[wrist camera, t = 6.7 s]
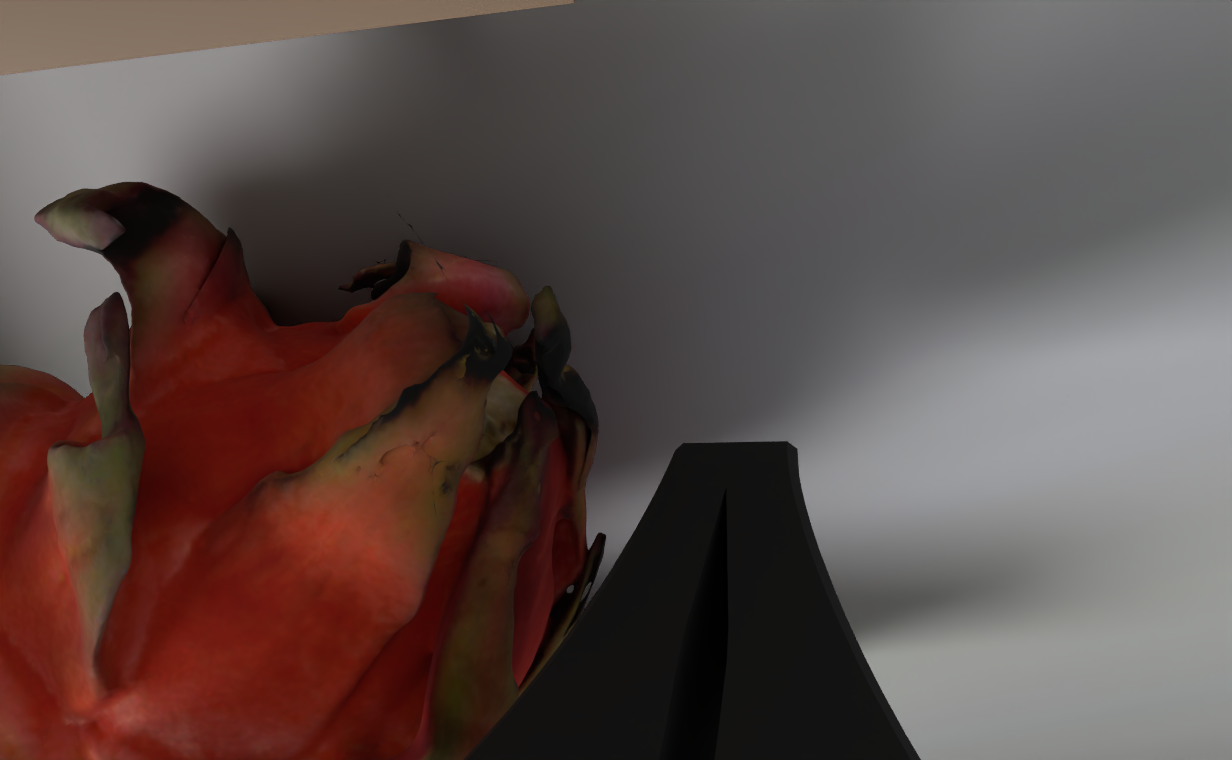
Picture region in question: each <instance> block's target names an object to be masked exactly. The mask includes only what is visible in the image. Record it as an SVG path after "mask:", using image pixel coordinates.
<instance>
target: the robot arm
mask: <svg viewBox="0 0 1232 760" xmlns="http://www.w3.org/2000/svg"><path fill="white" fill-rule="evenodd" d="M464 760H921V759H920V758H919V756H918V754H917V753H916V751H915V749H914V748H913V746H912V744H911V742H910V741H909V739H908V737H907V736H906V734H905V732H904V731H903V729H902V727H901V725H900V723H899V721H898V720H897V718H896V716H895V714H894V712H893V710H892V709H891V707H890V705H889V703H888V701H887V700H886V698H885V696H884V694H883V692H882V690H881V688H880V686H879V684H878V682H877V681H876V679H875V677H874V675H873V673H872V671H871V669H870V667H869V665H868V663H867V661H866V659H865V657H864V655H863V653H862V650H861V648H860V646H859V644H858V642H857V640H856V637H855V635H854V633H853V631H852V629H851V627H850V624H849V622H848V620H847V618H846V616H845V613H844V611H843V609H842V606H841V604H840V602H839V599H838V597H837V595H836V592H835V590H834V587H833V584H832V582H831V579H830V577H829V574H828V571H827V569H826V566H825V563H824V561H823V558H822V556H821V553H820V550H819V548H818V545H817V542H816V539H815V536H814V533H813V530H812V526H811V523H810V519H809V516H808V512H807V509H806V505H805V501H804V497H803V493H802V489H801V483H800V478H799V467H798V452H797V448H795V447H794V446H793V445H791V444H790V443H789V442H787V441H779V442H726V443H683V444H682V445H681V446H680V447H679V448H678V449H676V450H675V452H674V454H673V457H672V459H671V461H670V464H669V466H668V468H667V470H666V472H665V474H664V476H663V478H662V481H661V483H660V485H659V487H658V489H657V491H656V493H655V494H654V496H653V498H652V500H651V502H650V504H649V506H648V508H647V509H646V511H645V513H644V515H643V517H642V519H641V520H640V522H639V524H638V526H637V528H636V529H635V531H634V533H633V534H632V536H631V538H630V539H629V541H628V543H627V544H626V546H625V548H624V549H623V551H622V553H621V554H620V556H619V558H618V559H617V561H616V563H615V564H614V566H613V568H612V569H611V571H610V572H609V574H608V576H607V577H606V579H605V580H604V582H603V583H602V585H601V587H600V588H599V590H598V591H597V592H596V594H595V595H594V597H593V598H592V600H591V601H590V603H589V604H588V606H587V607H586V608H585V610H584V611H583V613H582V614H581V616H580V617H579V619H578V620H577V621H576V623H575V624H574V626H573V627H572V629H571V630H570V632H569V633H568V635H567V636H566V637H565V639H564V640H563V641H562V643H561V644H560V646H559V647H558V648H557V649H556V651H555V652H554V653H553V655H552V656H551V657H550V659H549V660H548V661H547V663H546V664H545V665H544V667H543V668H542V669H541V670H540V672H539V673H538V674H537V676H536V677H535V678H534V679H533V680H532V682H531V683H530V684H529V685H528V687H527V688H526V689H525V690H524V691H523V693H522V694H521V695H520V696H519V698H518V699H517V700H516V701H515V702H514V704H513V705H512V706H511V707H510V708H509V710H508V711H507V712H506V713H505V714H504V715H503V716H502V717H501V719H500V720H499V721H498V722H497V723H496V724H495V725H494V726H493V727H492V729H491V730H490V731H489V732H488V733H487V734H486V735H485V736H484V738H483V739H482V740H481V741H480V742H479V743H478V744H477V745H476V746H475V748H474V749H473V750H472V751H471V752H470V753H469V754H468V755H467V756H466V757H465V759H464Z"/></svg>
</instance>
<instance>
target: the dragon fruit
mask: <svg viewBox="0 0 1232 760" xmlns="http://www.w3.org/2000/svg"><path fill="white" fill-rule="evenodd" d="M398 214H399V213H398ZM399 216H400V215H399ZM400 217H401V216H400ZM401 218H402V217H401ZM34 219H35V221H36V222H37V223H38V224H40V225H41V226H42V227H44V228H45V229H46V230H47V231H48V232H49V233H50V234H51V235H52V236H53V237H54V238H55V239H56V240H57V241H60V242H64V243H66V244H69V245H71V246H74V247H79V248H83V249H87V250H90V251H94V252H97V253H99V254H101V255H102V256H103V257H104V258H105V259H106V260H108V261H109V262H110V263H111V264H112V265H113V267H114V269H115V270H116V271H117V273H118V274H119V275H120V278H121V282H122V285H123V287H124V289H125V291H126V293H127V295H128V298H129V301H130V304H131V307H132V311H131V317H132V326H131V328H130V329H129V325H128V318H127V313H126V309H125V306H124V302H123V299H122V297H121V295H120V293H118V292H114V293H113V294H112V295H111V296H110V297H109V298H107V299H105V301H104V302H103V303H102V304H101V305H100V306H99V307H97V308H95V309H94V310H93V311H92V312H91V313H90V316H89V318H88V321H87V323H86V326H85V329H84V342H85V352H86V356H87V360H88V369H89V380H90V385H91V388H92V393H91V394H90V395H88V396H87V397H86V398H84V397H82V396H81V395H80V394H79V393H78V392H77V391H76V390H74V389H73V388H72V387H71V386H69V385H68V384H66V383H65V382H63V381H61V380H59V379H58V378H56V377H54V376H52V375H50V374H48V373H45V372H41V371H37V370H33V369H30V368H25V367H20V366H14V365H0V760H464V759H465V757H466V756H467V755H468V754H469V753H470V752H471V751H472V750H473V749H474V748H475V746H476V745H477V744H478V743H479V742H480V741H481V740H482V739H483V738H484V736H485V735H486V734H487V733H488V732H489V731H490V730H491V729H492V727H493V726H494V725H495V724H496V723H497V722H498V721H499V720H500V719H501V717H502V716H503V715H504V714H505V713H506V712H507V711H508V710H509V708H510V707H511V706H512V705H513V704H514V702H515V701H516V700H517V699H518V698H519V696H520V695H521V694H522V693H523V691H524V690H525V689H526V688H527V687H528V685H529V684H530V683H531V682H532V680H533V679H534V678H535V677H536V676H537V674H538V673H539V672H540V670H541V669H542V668H543V667H544V665H545V664H546V663H547V661H548V660H549V659H550V657H551V656H552V655H553V653H554V652H555V651H556V649H557V648H558V647H559V646H560V644H561V643H562V641H563V640H564V638H565V637H566V636H567V634H568V633H569V632H570V630H571V629H572V627H573V626H574V624H575V623H576V621H577V620H578V618H579V616H580V615H581V613H582V611H583V608H584V605H585V603H586V600H587V598H588V595H589V593H590V590H591V588H592V586H593V583H594V580H595V577H596V575H597V572H598V569H599V566H600V563H601V561H602V558H603V553H604V546H605V541H606V535H605V534H603V533H598V534H597V536H596V538H595V540H594V542H593V544H592V546H591V548H590V550H588V548H587V541H586V499H585V486H586V479H587V476H588V473H589V470H590V468H591V466H592V463H593V459H594V455H595V451H596V445H597V437H598V426H599V425H598V418H597V413H596V409H595V406H594V403H593V401H592V399H591V396H590V392H589V390H588V388H587V387H586V386H585V384H584V382H583V381H582V379H581V378H580V376H579V374H578V373H577V372H576V371H575V370H574V369H573V368H572V367H570V366H568V365H566V363H567V361H568V358H569V355H570V351H571V338H570V330H569V327H568V324H567V321H566V319H565V317H564V316H563V314H562V312H561V310H560V308H559V306H558V303H557V301H556V298H555V295H554V293H553V291H552V289H551V287H550V286H545V287H544V288H543V289H542V291H541V292H540V293H538V294H536V295H535V297H534V300H533V303H532V306H531V312H532V315H533V318H534V328H533V329H532V330H531V333H530V336H529V338H528V339H527V341H526V342H525V343H524V344H522V345H520V346H516V347H514V349H512V345H511V343H510V341H507V340H506V336H507V334H508V333H509V332H510V331H512V330H514V329H518V328H521V327H522V326H523V325H524V323H525V321H526V319H527V318H528V316H529V312H530V300H529V297H528V296H527V294H526V292H525V291H524V289H523V287H522V285H521V283H520V282H519V280H518V279H517V277H516V276H515V275H514V274H513V273H512V272H510V271H509V270H505V269H500V268H497V267H494V266H491V265H487V264H484V263H481V262H479V261H489V260H472V259H467V258H464V257H460V256H457V255H453V254H449V253H445V252H441V251H438V250H435V249H431V248H428V247H425V246H423V245H420V244H418V243H415V242H412V241H409V240H403V241H402V242H401V244H400V249H399V252H398V256H397V261H396V262H392V263H388V264H380V262H377V263H378V265H377V266H373V267H369V268H365V269H362V270H361V271H359V272H358V273H357V274H356V275H355V276H354V277H353V281H352V282H351V283H349V284H347V285H344V286H340V287H339V288H338V289H340V290H344V291H348V292H351V293H353V292H355V291H358V290H361V289H364V288H373V289H372V291H371V299H372V300H374V301H372V302H369V303H366V304H362V305H357V306H354V307H352V308H351V309H350V310H349V311H348V312H347V313H346V314H345V315H344V317H343V318H342V320H338V321H336V322H309V323H305V324H301V325H297V326H288V327H286V326H277V325H275V324H274V322H273V321H272V319H271V317H270V315H269V312H268V310H267V308H266V307H265V305H264V304H263V303H262V302H261V301H260V300H259V299H258V298H257V297H256V295H255V293H254V291H253V289H252V287H251V285H250V281H249V276H248V273H247V270H246V267H245V262H244V255H243V249H242V245H241V242H240V240H239V238H238V237H237V235H236V234H235V232H234V230H233V229H232V228H231V227H229V228H228V232H227V233H228V235H227V237H226V236H225V235H224V234H223V233H221V232H220V231H219V230H217V229H216V228H215V227H214V226H213V225H212V224H211V223H210V221H209V220H208V219H206V218H205V217H204V216H203V215H202V214H201V213H200V212H198V211H197V210H196V209H194V208H193V207H192V206H191V205H189V204H188V203H186V202H185V201H183V200H182V199H181V198H180V197H178V196H176V195H174V194H172V193H170V192H168V191H166V190H163V189H160V188H157V187H154V186H152V185H149V184H147V183H143V182H122V183H117V184H112V185H108V186H105V187H102V188H99V189H80V190H77V191H74V192H71V193H69V194H67V195H66V196H65V197H64V198H61V199H58V200H56V201H54V202H53V203H51V204H49V205H47V206H46V207H44V208H43V209H42V210H40V211H39V212H38V213H37V214H36V215H35V217H34ZM404 222H405V221H404ZM408 226H410V227H411V228H412V226H411V225H409V224H408ZM412 229H413V228H412ZM414 232H415V231H414ZM416 235H417V234H416ZM419 240H421V239H420V238H419ZM421 241H422V240H421ZM421 243H422V242H421ZM465 257H466V256H465ZM385 260H386V259H385ZM385 260H384V262H385ZM381 262H382V261H381ZM494 262H495V261H494ZM383 279H386V280H383ZM380 280H383V281H381V282H379V283H377V282H378V281H380ZM376 283H377V284H376ZM374 285H375V286H374ZM537 376H538V379H539V382H540V386H541V389H542V398H540V397H539V396H538V393H537V391H531V390H532V386H533V384H534V382H535V380H536V378H537ZM589 582H591V586H590V589H589V591H588V593H587V595H586V597H585V598H584V599H583V600H582V601H581V602H580V600H581V597H582V594H583V592H584V590H585V588H586V586H587V584H588V583H589ZM571 585H574V590H573V592H572V593H567V588H568V587H569V586H571Z"/></svg>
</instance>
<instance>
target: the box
mask: <svg viewBox="0 0 1232 760" xmlns="http://www.w3.org/2000/svg"><path fill="white" fill-rule="evenodd" d="M575 1H576V0H0V75H4V74H12V73H20V72H28V71H36V70H44V69H52V68H60V67H68V66H76V65H84V64H92V63H100V62H108V61H116V60H124V59H132V58H140V57H148V56H156V55H164V54H172V53H180V52H188V51H196V50H204V49H212V48H220V47H228V46H236V45H244V44H252V43H260V42H268V41H276V40H284V39H292V38H300V37H308V36H316V35H324V34H332V33H340V32H348V31H356V30H364V29H372V28H380V27H388V26H396V25H404V24H412V23H420V22H428V21H436V20H444V19H452V18H460V17H468V16H475V15H483V14H491V13H499V12H507V11H515V10H523V9H531V8H539V7H547V6H555V5H563V4H571V3H574V2H575ZM564 639H565V638H564Z"/></svg>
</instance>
